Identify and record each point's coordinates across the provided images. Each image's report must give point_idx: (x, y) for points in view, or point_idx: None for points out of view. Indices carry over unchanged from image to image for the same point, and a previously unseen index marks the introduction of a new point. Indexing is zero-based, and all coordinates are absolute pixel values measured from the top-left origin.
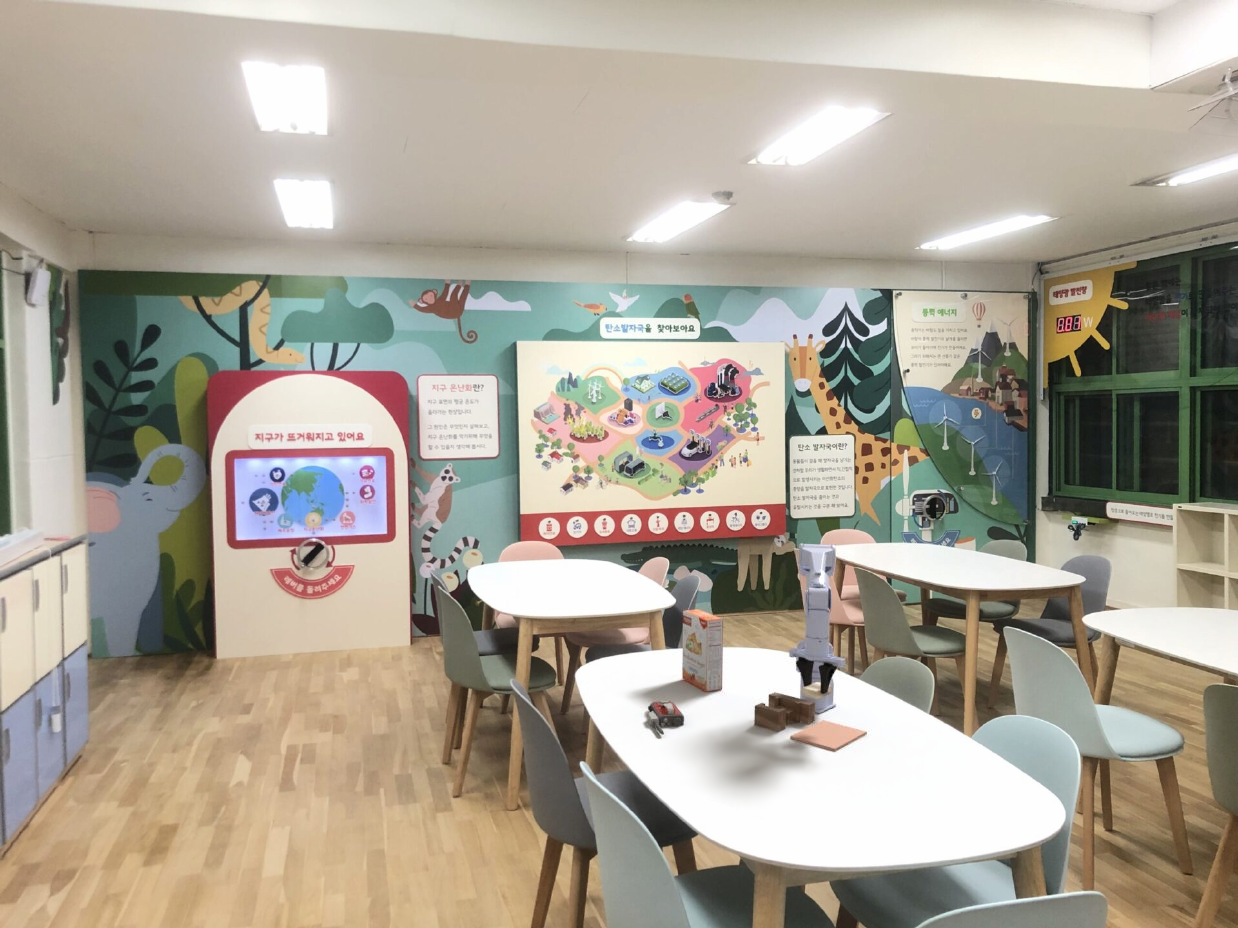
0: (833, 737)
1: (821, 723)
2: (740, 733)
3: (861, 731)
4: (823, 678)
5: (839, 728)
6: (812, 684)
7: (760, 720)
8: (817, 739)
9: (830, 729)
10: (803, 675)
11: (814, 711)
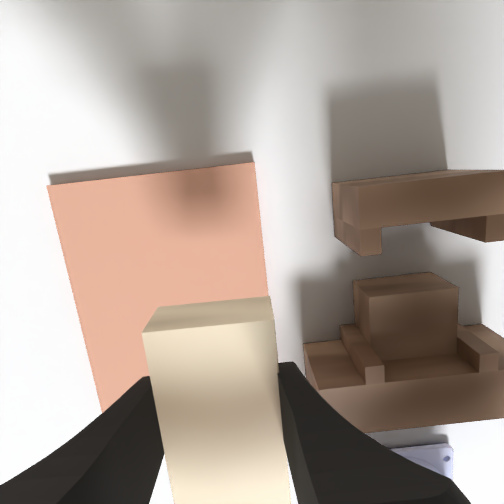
0: (135, 284)
1: None
2: (433, 32)
3: None
4: (67, 454)
5: None
6: (274, 438)
7: (432, 173)
8: (158, 217)
9: None
10: (313, 418)
11: None
